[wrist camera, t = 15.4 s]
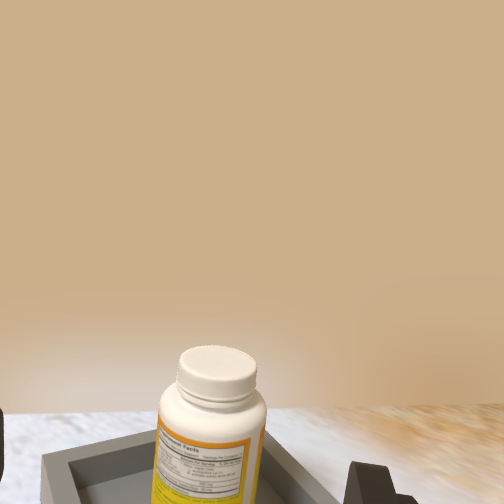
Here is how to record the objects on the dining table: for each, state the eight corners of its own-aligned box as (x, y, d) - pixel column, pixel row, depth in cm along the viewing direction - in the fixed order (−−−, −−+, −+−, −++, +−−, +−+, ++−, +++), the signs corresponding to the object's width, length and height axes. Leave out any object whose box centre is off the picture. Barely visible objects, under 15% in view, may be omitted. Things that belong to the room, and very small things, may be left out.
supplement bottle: (203, 483, 29) (220, 331, 27) (269, 538, 25) (295, 367, 23) (126, 528, 24) (140, 352, 23) (192, 602, 21) (217, 400, 19)
